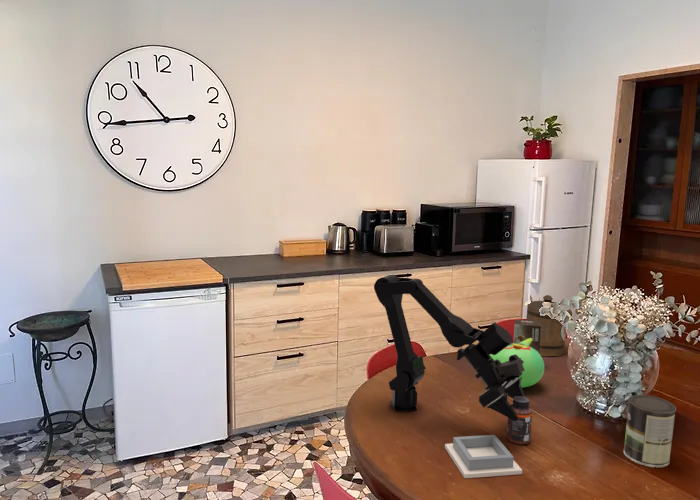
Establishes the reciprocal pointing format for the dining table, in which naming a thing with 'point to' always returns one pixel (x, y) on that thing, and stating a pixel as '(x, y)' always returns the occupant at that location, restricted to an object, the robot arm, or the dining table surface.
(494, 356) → the toy bird
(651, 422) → the coffee can
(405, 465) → the dining table surface
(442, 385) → the dining table surface
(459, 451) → the cup holder
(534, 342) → the coffee box
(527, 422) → the supplement bottle
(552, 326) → the wooden container
